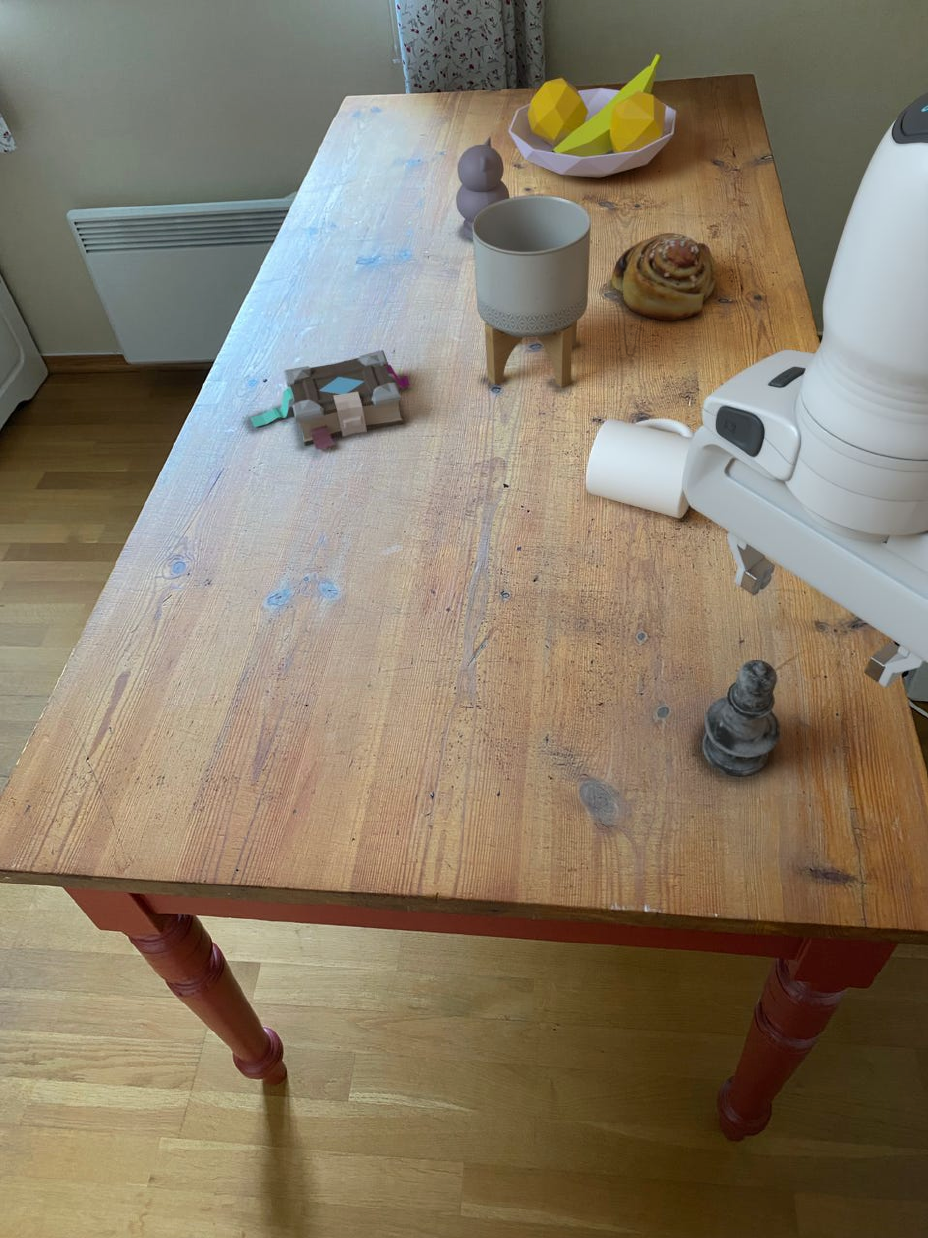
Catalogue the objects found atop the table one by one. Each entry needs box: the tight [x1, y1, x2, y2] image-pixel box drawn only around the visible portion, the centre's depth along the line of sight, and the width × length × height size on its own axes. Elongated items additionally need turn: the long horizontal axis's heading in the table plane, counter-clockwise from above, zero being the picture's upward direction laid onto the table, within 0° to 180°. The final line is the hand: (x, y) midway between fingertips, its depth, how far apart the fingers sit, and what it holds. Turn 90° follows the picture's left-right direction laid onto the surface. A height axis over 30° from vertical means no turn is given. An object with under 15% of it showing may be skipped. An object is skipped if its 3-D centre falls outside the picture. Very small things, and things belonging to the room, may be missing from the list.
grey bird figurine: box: [455, 136, 511, 241], centre depth 129 cm, size 8×8×12 cm
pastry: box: [611, 232, 718, 322], centre depth 116 cm, size 13×15×8 cm
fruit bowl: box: [508, 53, 677, 179], centre depth 142 cm, size 28×27×11 cm
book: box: [249, 349, 410, 451], centre depth 104 cm, size 20×12×5 cm, turn 105°
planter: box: [472, 194, 592, 389], centre depth 104 cm, size 13×13×18 cm
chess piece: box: [702, 659, 781, 778], centre depth 69 cm, size 6×6×12 cm
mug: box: [585, 417, 695, 519], centre depth 92 cm, size 12×10×8 cm
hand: (813, 628), depth 54 cm, fingers open, 8 cm apart
